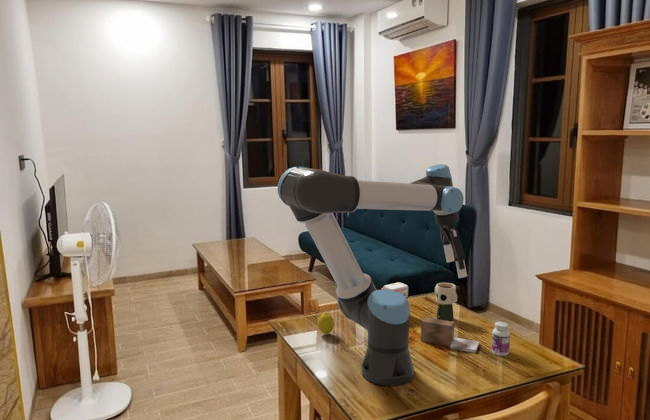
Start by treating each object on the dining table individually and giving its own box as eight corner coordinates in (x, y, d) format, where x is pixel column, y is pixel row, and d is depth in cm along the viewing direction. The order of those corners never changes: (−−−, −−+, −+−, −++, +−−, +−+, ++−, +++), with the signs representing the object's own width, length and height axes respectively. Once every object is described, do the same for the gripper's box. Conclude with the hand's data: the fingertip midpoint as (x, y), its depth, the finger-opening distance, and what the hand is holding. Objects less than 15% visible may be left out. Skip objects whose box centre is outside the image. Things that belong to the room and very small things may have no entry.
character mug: (427, 316, 188) (428, 283, 186) (441, 312, 192) (442, 280, 190) (448, 325, 179) (450, 291, 177) (462, 321, 183) (464, 287, 181)
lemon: (334, 332, 174) (334, 310, 173) (333, 338, 169) (333, 316, 167) (318, 331, 175) (318, 309, 173) (316, 337, 169) (316, 315, 168)
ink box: (391, 319, 185) (391, 289, 183) (382, 315, 189) (382, 285, 188) (408, 314, 190) (408, 285, 188) (399, 310, 194) (399, 281, 192)
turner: (419, 342, 165) (420, 322, 164) (425, 335, 171) (425, 315, 170) (475, 353, 157) (476, 332, 156) (479, 344, 164) (480, 324, 163)
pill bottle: (487, 350, 159) (489, 321, 158) (501, 347, 161) (502, 319, 159) (499, 357, 154) (500, 328, 153) (512, 354, 156) (514, 325, 154)
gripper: (469, 219, 151) (480, 281, 157) (445, 198, 175) (456, 253, 181) (445, 225, 152) (457, 287, 157) (425, 204, 175) (436, 258, 181)
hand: (456, 269), depth 169 cm, fingers open, 13 cm apart
